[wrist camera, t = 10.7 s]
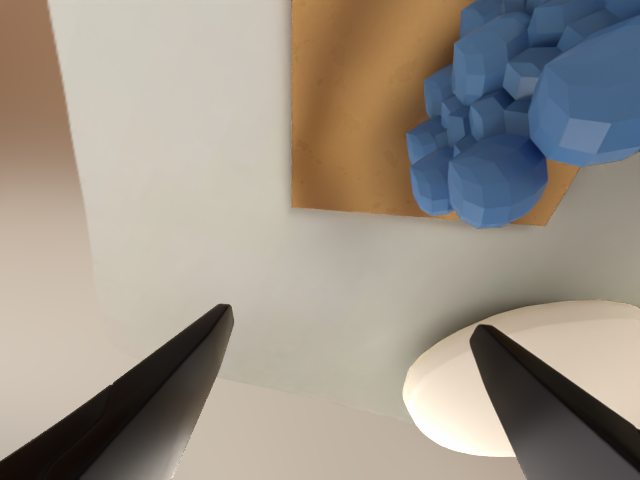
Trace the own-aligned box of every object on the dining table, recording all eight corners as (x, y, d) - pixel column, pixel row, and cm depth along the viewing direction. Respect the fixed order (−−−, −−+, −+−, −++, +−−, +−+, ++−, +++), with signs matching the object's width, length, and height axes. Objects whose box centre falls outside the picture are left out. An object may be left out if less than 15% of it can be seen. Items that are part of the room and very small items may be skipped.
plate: (776, 406, 21) (514, 480, 33) (680, 342, 27) (484, 425, 38) (679, 294, 12) (363, 451, 24) (564, 233, 18) (353, 384, 29)
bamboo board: (706, -82, 11) (739, -99, 10) (535, 221, 19) (545, 226, 18) (294, -105, 11) (291, -124, 10) (293, 203, 19) (291, 207, 18)
